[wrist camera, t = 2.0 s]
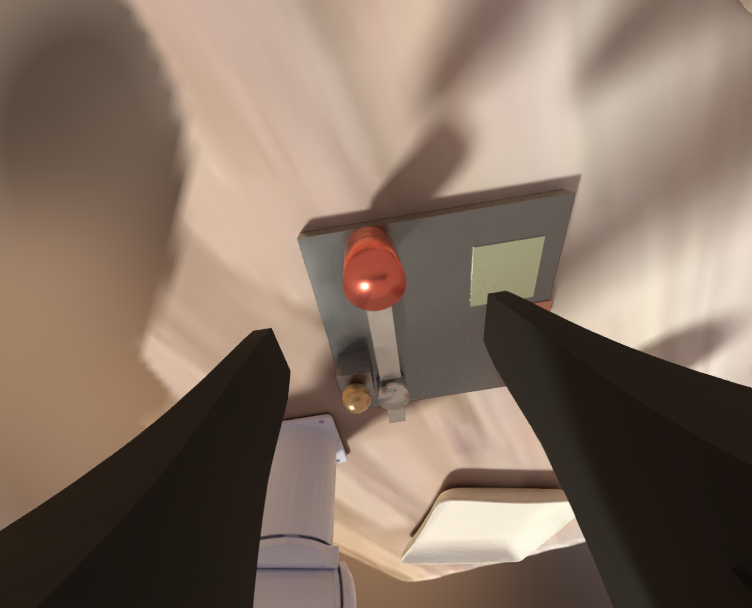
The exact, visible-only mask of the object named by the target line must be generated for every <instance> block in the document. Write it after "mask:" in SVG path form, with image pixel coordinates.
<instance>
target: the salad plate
mask: <svg viewBox="0 0 752 608" xmlns="http://www.w3.org/2000/svg"><path fill="white" fill-rule="evenodd" d="M573 518H575V515H574V513H573V510H572V508H571V506H570V504H569V502H568V500H567V497H566V495H565V493H564V491H563V490H558V489H539V488H453V489H449V490H446V491H444V492H442V493H441V494H440V495H439V496H438V498H437V500H436V502H435V503H434V505H433V507H432V509H431V511H430V512H429V514H428V516H427V517H426V519H425V520H424V522H423V523H422V525H421V527H420V528H419V529H418V531H417V532H416V534H415V535H414V536H413V538H412V539H411V540H410V542H409V543H408V545H407V546H406V548H405V550H404V552H403V554H402V557H401V563H402V564H478V563H496V562H518V561H521V560H522V559H524V558H525V557H526V556H528V555H529V554H530V553H532V552H533V551H534V550H535V549H537V548H538V547H539V546H541V545H542V544H543V543H544V542H546V541H547V540H548V539H549V538H551V537H552V536H553V535H554V534H556V533H557V532H558V531H559V530H560V529H561V528H563V527H564V526H565V525H566V524H568V523H569V522H570V521H571V520H572V519H573Z"/></svg>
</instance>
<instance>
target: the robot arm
mask: <svg viewBox="0 0 752 608" xmlns="http://www.w3.org/2000/svg"><path fill="white" fill-rule="evenodd" d="M483 341H484V344H485V346H486V349H487V351H488V353H489V356H490V358H491V360H492V362H493V364H494V366H495V368H496V370H497V372H498V373H499V375H500V377H501V378H502V380H503V382H504V383H505V385H506V386H507V388H508V390H509V391H510V393H511V395H512V396H513V398H514V399H515V401H516V403H517V404H518V406H519V408H520V409H521V411H522V412H523V414H524V416H525V417H526V419H527V421H528V422H529V424H530V425H531V427H532V429H533V431H534V432H535V434H536V436H537V438H538V439H539V441H540V443H541V445H542V447H543V449H544V451H545V453H546V455H547V458H548V460H549V462H550V464H551V466H552V468H553V470H554V472H555V474H556V476H557V478H558V480H559V482H560V485H561V487H562V489H563V491H564V493H565V495H566V497H567V500H568V502H569V504H570V506H571V508H572V510H573V513H574V515H575V517H576V520H577V522H578V524H579V526H580V529H581V531H582V533H583V536H584V538H585V540H586V542H587V545H588V547H589V549H590V552H591V554H592V556H593V559H594V561H595V564H596V566H597V568H598V571H599V573H600V576H601V578H602V581H603V583H604V586H605V588H606V590H607V593H608V596H609V598H610V601H611V603H612V605H613V608H752V388H751V387H747V386H744V385H740V384H737V383H733V382H730V381H727V380H724V379H721V378H717V377H714V376H711V375H708V374H705V373H701V372H698V371H695V370H692V369H689V368H686V367H683V366H680V365H677V364H674V363H671V362H668V361H665V360H663V359H660V358H657V357H654V356H652V355H649V354H646V353H644V352H641V351H638V350H636V349H633V348H630V347H628V346H625V345H623V344H620V343H618V342H615V341H613V340H611V339H608V338H606V337H604V336H601V335H599V334H597V333H595V332H592V331H590V330H588V329H585V328H583V327H581V326H579V325H577V324H575V323H573V322H570V321H568V320H566V319H564V318H562V317H560V316H558V315H556V314H554V313H552V312H550V311H548V310H546V309H544V308H542V307H540V306H538V305H536V304H534V303H532V302H530V301H528V300H526V299H524V298H522V297H520V296H518V295H516V294H513V293H511V292H509V291H500V292H494V293H488V296H487V306H486V317H485V327H484V338H483ZM290 372H291V371H290V369H289V366H288V364H287V362H286V360H285V357H284V355H283V353H282V351H281V348H280V346H279V344H278V342H277V339H276V337H275V335H274V333H273V330H272V328H268V329H262V330H256V331H253V332H252V333H250V334H249V335H248V336H247V337H246V338H245V339H244V340H243V341H242V342H241V343H240V344H239V345H237V346H236V347H235V348H234V349H233V350H232V351H231V352H230V353H229V354H228V355H227V356H226V357H225V358H224V359H223V360H222V361H221V362H220V363H219V364H218V365H217V366H216V367H215V368H214V369H213V370H212V371H211V372H210V373H209V374H208V375H207V376H206V377H205V378H204V379H203V380H202V381H200V382H199V383H198V384H197V385H196V386H195V387H194V388H193V389H192V390H191V391H189V392H188V393H187V394H186V395H185V396H184V397H183V398H182V399H181V400H180V401H178V402H177V403H176V404H175V405H174V406H173V407H172V408H171V409H169V410H168V411H167V412H166V413H165V414H164V415H162V416H161V417H160V418H159V419H158V420H156V421H155V422H154V423H153V424H152V425H150V426H149V427H148V428H147V429H145V430H144V431H143V432H141V433H140V434H139V435H138V436H136V437H135V438H134V439H133V440H131V441H130V442H129V443H127V444H126V445H125V446H124V447H122V448H121V449H120V450H118V451H117V452H115V453H114V454H113V455H112V456H110V457H108V458H107V459H106V460H104V461H103V462H102V463H100V464H99V465H97V466H96V467H95V468H93V469H92V470H90V471H89V472H88V473H86V474H85V475H83V476H82V477H81V478H79V479H78V480H77V481H75V482H74V483H72V484H71V485H69V486H68V487H66V488H65V489H64V490H62V491H61V492H59V493H58V494H56V495H55V496H53V497H52V498H50V499H49V500H47V501H46V502H44V503H43V504H41V505H40V506H38V507H37V508H35V509H34V510H32V511H30V512H29V513H27V514H26V515H24V516H23V517H21V518H20V519H18V520H17V521H15V522H13V523H12V524H10V525H9V526H7V527H6V528H4V529H3V530H1V531H0V608H356V593H355V586H354V581H353V577H352V575H351V573H350V571H349V570H348V567H347V565H346V563H345V562H343V561H338V557H339V556H338V555H339V547H338V546H333V527H334V503H335V479H336V463H341V462H345V461H346V460H347V455H346V452H345V450H344V447H343V444H342V442H341V439H340V436H339V434H338V431H337V428H336V426H335V423H334V420H333V417H332V416H331V415H329V414H324V415H318V416H312V417H305V418H299V419H293V420H286V421H283V417H284V413H285V409H286V404H287V400H288V392H289V383H290Z"/></svg>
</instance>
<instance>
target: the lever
mask: <svg viewBox="0 0 752 608" xmlns="http://www.w3.org/2000/svg"><path fill="white" fill-rule="evenodd" d="M405 288H406V276H405V273H404V270H403V267H402V265H401V262H400V259H399V256H398V254H397V251H396V248H395V245H394V242H393V240H392V238H391V237H390V235H389V234H388V233H387V232H385V231H384V230H382V229H380V228H377V227H363V228H360V229H358V230H356V231H355V232H353V233H352V234H351V235H350V236H349V238H348V239H347V241H346V244H345V250H344V272H343V289H344V293H345V295H346V297H347V299H348V300H349V301H350V302H351V303H352V304H353V305H355V306H356V307H358V308H360V309H363V310H367V315H368V320H369V325H370V330H371V335H372V340H373V346H374V351H375V356H376V361H377V366H378V371H379V376H380V377H379V378H378V380H377V391H378V401H379V405H380V406H381V407H382V408H384V409H386V410H387V411H388V416H389V422H390V423H394V422H401V421H406V419H405V412H404V407H405V406H406V405H407V404H408V403H409V400H410V398H409V393H408V388H407V384H406V379H405V377H404V376H403V375H402V374H401V373H400V366H399V358H398V351H397V343H396V336H395V328H394V321H393V313H392V306H393V305H394V304H395V303H397V302H398V301H399V300H400V298H401V297H402V295H403V294H404V291H405Z"/></svg>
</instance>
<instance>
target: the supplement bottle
mask: <svg viewBox="0 0 752 608" xmlns="http://www.w3.org/2000/svg"><path fill="white" fill-rule="evenodd" d="M740 2H741V4H742V5H743V7H744V8H745V9H746V10H747V11H748V12H750V13H751V14H752V0H740Z"/></svg>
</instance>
